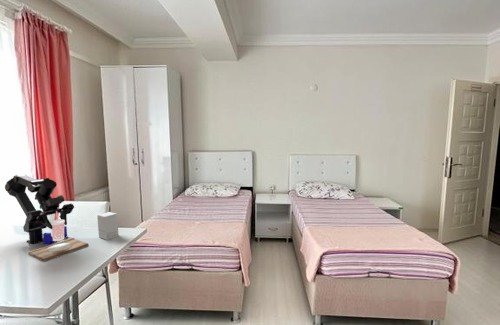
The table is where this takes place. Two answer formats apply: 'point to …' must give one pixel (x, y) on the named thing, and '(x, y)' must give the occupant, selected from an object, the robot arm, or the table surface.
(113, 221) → the supplement box
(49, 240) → the cable clip
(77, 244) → the board
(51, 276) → the table surface
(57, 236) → the beverage cup
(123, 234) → the table surface
